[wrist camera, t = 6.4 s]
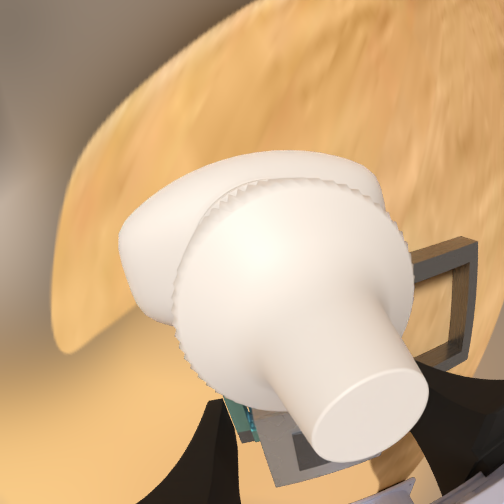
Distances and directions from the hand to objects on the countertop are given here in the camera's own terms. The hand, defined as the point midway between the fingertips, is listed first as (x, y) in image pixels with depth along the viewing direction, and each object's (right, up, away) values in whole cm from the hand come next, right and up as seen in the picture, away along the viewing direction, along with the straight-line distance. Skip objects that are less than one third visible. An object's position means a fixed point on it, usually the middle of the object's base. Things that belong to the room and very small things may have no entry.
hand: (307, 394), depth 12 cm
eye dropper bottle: (-3, +8, +1) cm, 9 cm away
